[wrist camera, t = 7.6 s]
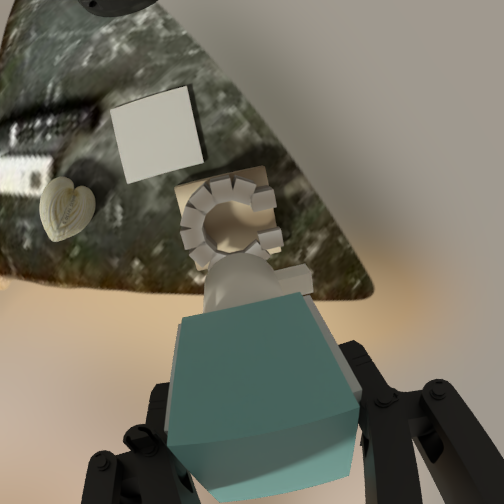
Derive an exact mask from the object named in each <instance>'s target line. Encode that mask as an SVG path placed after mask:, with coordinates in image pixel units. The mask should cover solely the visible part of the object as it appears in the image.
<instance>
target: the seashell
mask: <svg viewBox="0 0 504 504" xmlns="http://www.w3.org/2000/svg"><path fill="white" fill-rule="evenodd" d="M94 212H95V197H94V195H93V193H92V191H91V190H90V189H89V188H87V187H85V186H78V187H77V188H75V189H74V184H73V182H72V181H71V180H70V179H69V178H66V177H58V178H55V179H53V180H52V181H51V182H50V183H49V184H48V185H47V186H46V187H45V189H44V191H43V193H42V195H41V199H40V217H41V221H42V224H43V226H44V229H45V231H46V233H47V234H48V236H49V238H50V239H51V240H52V241H54V242H56V241H57V242H59V241H61V240H65V238H69V237H71V236H73V235H75V234H77V233H79V232H80V231H82V230H83V229H84V228H85V227H86V226H87V225H88V223H89V222H90V221H91V219H92V217H93V214H94Z"/></svg>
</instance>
